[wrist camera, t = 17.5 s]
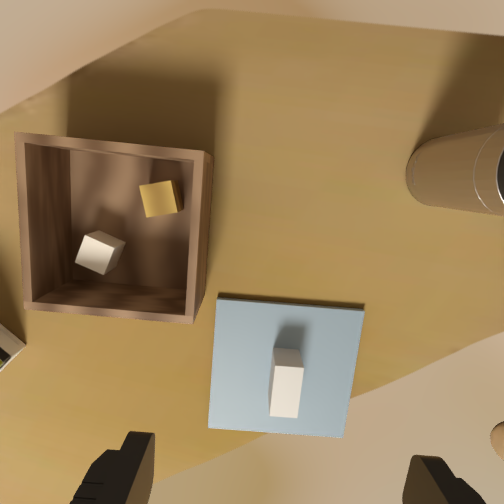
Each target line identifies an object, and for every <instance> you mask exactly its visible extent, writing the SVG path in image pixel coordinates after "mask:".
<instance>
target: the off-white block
mask: <svg viewBox="0 0 504 504" xmlns="http://www.w3.org/2000/svg"><path fill="white" fill-rule="evenodd" d="M125 243H126V242H124V241H122V240H119V239H117V238H115V237H113V236H111V235H108V234H106V233H104V232H102V231H100V230H98V231H95V232H92V233H89V234H86V235H85V236H84V239H83V241H82V244H81V247H80V249H79V252H78V255H77V257H76V260H75V263H77V264H80V265H82V266H84V267H86V268H89V269H91V270H93V271H96V272H98V273H100V274H102V275H105V274H106V273H108V272H109V271H111V270H112V269H114V268H115V267H116V266H117V263H118V261H119V258H120V256H121V253H122V251H123V248H124V246H125Z"/></svg>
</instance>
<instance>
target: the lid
mask: <svg viewBox="0 0 504 504" xmlns="http://www.w3.org/2000/svg"><path fill="white" fill-rule="evenodd" d="M364 312H365V311H364V310H363V309H357V308H345V307H332V306H320V305H308V304H295V303H283V302H271V301H258V300H246V299H234V298H221V297H217V304H216V318H215V333H214V348H213V363H212V377H211V392H210V407H209V421H208V428H217V429H230V430H244V431H258V432H271V433H285V434H299V435H312V436H325V437H340V438H343V435H344V429H345V424H346V417H347V412H348V406H349V400H350V394H351V389H352V383H353V377H354V371H355V365H356V359H357V353H358V348H359V342H360V336H361V330H362V324H363V318H364Z"/></svg>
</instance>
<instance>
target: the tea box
mask: <svg viewBox="0 0 504 504" xmlns="http://www.w3.org/2000/svg"><path fill="white" fill-rule="evenodd" d="M25 346H26V344H24V343H23V342H22V341H21V340H20V339H19V338H17V337H16V336H15V335H14V334H13V333H11V332H10V331H9V330H8V329H7V328H5V327H4V326H3V325H2V324H1V323H0V372H1V371H2V370H3V369H4V368H5V367H6V366H7V365H8V364H9V363H10V362H11V361H12V360H13V359H14V358H15V357H16V356H17V355H18V354H19V353H20V352H21V351H22V350H23V349H24V348H25Z"/></svg>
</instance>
